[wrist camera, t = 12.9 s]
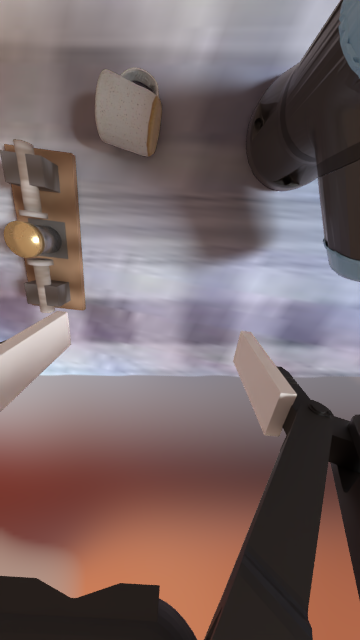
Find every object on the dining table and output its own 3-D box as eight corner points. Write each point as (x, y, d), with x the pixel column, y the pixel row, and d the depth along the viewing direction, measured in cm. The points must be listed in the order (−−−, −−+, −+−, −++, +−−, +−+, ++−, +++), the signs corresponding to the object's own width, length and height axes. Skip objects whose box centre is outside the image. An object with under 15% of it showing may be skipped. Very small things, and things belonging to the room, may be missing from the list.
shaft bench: (9, 147, 34) (-28, 126, 28) (75, 156, 34) (52, 138, 28) (35, 303, 44) (12, 313, 38) (85, 308, 45) (70, 319, 39)
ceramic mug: (154, 166, 35) (148, 146, 28) (108, 150, 34) (89, 126, 27) (170, 87, 31) (167, 40, 24) (118, 67, 30) (99, 13, 23)
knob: (46, 217, 37) (16, 212, 30) (69, 242, 38) (46, 242, 32) (28, 237, 38) (-3, 236, 31) (51, 260, 39) (25, 264, 33)
